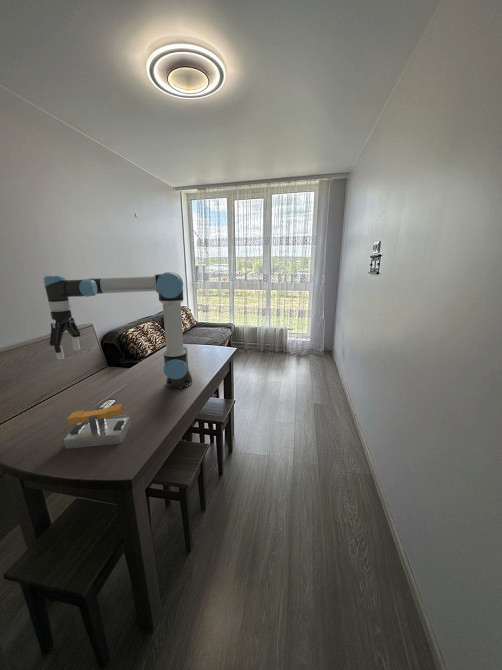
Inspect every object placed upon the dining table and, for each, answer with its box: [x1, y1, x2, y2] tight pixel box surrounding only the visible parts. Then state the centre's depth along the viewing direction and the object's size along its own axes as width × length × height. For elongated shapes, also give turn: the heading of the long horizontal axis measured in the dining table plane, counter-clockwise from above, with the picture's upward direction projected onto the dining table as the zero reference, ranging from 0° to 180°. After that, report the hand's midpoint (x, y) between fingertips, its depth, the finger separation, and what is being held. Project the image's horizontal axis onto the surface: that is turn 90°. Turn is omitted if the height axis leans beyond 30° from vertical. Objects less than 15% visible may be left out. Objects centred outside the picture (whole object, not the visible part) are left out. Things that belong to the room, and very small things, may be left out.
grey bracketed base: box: [63, 406, 132, 450], centre depth 102 cm, size 20×12×11 cm, turn 98°
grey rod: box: [97, 414, 129, 420], centre depth 113 cm, size 15×2×2 cm, turn 98°
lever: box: [66, 403, 125, 426], centre depth 101 cm, size 19×5×3 cm, turn 99°
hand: (69, 354), depth 121 cm, fingers open, 13 cm apart
